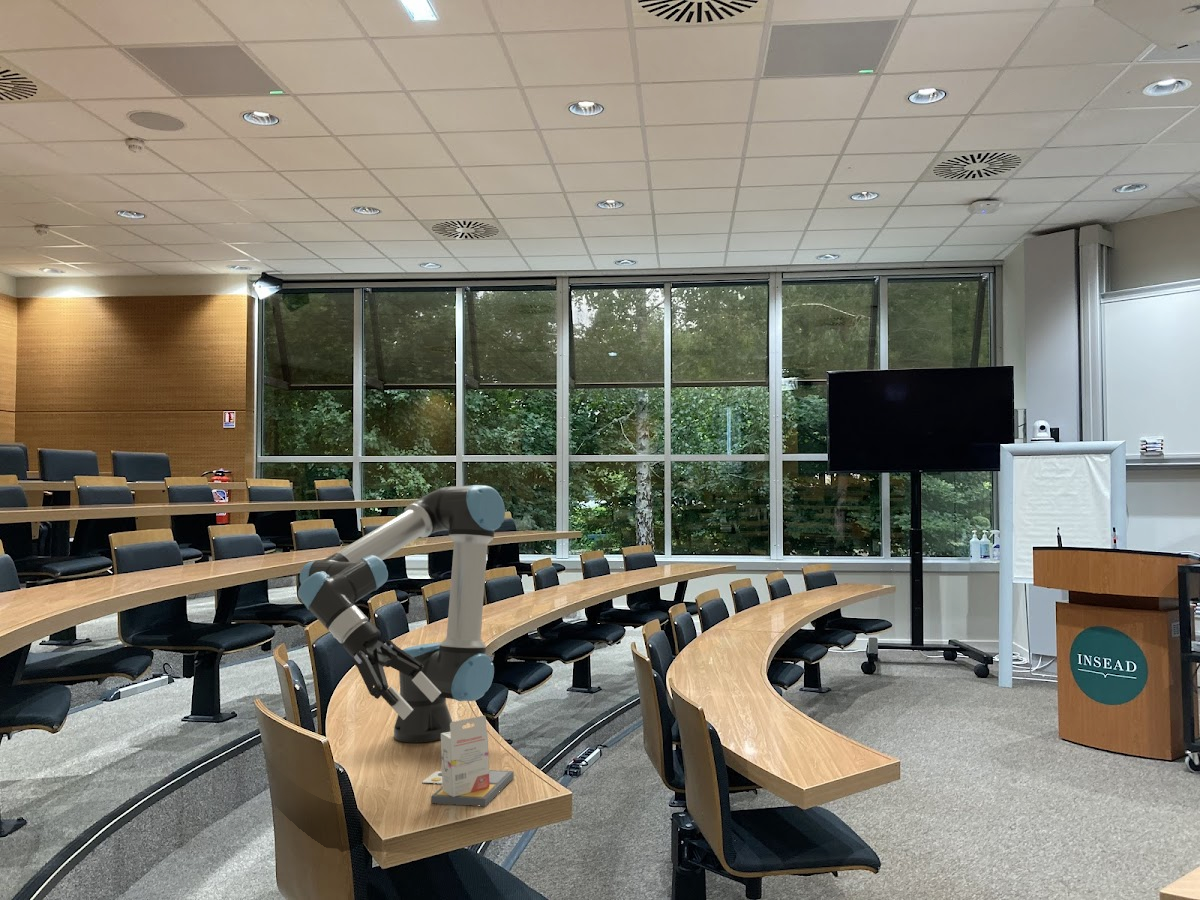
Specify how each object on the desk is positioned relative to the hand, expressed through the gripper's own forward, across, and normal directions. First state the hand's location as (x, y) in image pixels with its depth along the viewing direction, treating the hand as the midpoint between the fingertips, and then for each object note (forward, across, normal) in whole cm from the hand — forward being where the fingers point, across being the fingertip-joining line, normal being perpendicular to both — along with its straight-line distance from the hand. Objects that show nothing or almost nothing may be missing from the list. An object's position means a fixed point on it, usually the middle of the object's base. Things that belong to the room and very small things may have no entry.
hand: (423, 706), depth 173 cm
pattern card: (+12, -10, -14) cm, 21 cm away
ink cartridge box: (+18, 0, -6) cm, 19 cm away
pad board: (+19, -4, -6) cm, 21 cm away
